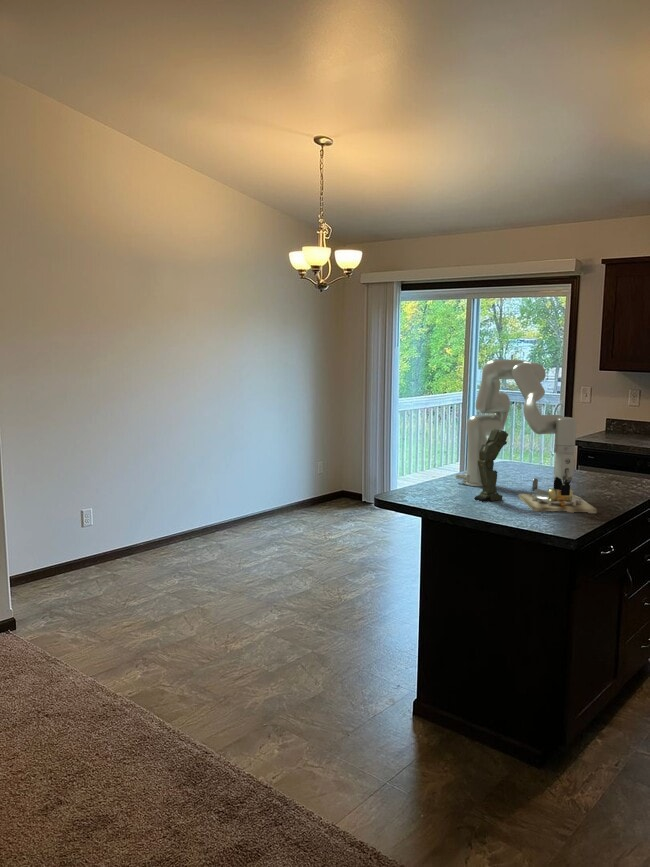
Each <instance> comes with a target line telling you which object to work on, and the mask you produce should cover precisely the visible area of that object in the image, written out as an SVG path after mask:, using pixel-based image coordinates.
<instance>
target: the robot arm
mask: <svg viewBox="0 0 650 867" xmlns="http://www.w3.org/2000/svg"><path fill="white" fill-rule="evenodd" d="M546 374H547V372H546V369H545V367H544V366H543V365H542V364H540V363H538V362H533V361H529V360H528V361H527V360H523V359H504V358H503V359H500V358H499V359H490V360H488V361H487V362H486V363H485V364H484V365H483V367H482V372H481V380H480V381H481V382H480V386H479V389H478V392H477V396H476V401H475V409H476V411H477V412H478V413H480V414H474V415H472V416H470V417H469V418H468V419H467V421H466V433H467V455H466V456H467V457H466V458H467V459H466V472H464V473H463V474H456V475H455V479H456V480H462V484H463V485H465V486H469V487H470V486H471V487H482V488H483V485H482V483H481V477H480V471H479V466H478V459H479V451H480V449H481V447H482V444H483V445H485V444H486V443H487V441H488V438H487V437H489V435H490V433H491V431H492V430H493V429H497V430H499V431H500V430H501V431H504V428H505V425H506V423H507V419H508V415H509V412H510V407H511V399H510V398H509V396H508V394H507V393H505V392H503V391H500V389H501V381H500V380H513V381H514V382H515V384H516V386H517V387H518V389H519V391H520V393H521V395H522V397H523V399H524V404H523V416H524V419H525V421H526V422H527V424H528V426H529V428H530V430H531V431H532V432H533V433H535V434H536V435H552V434H553V435H554V447H553V448H554V449H553V453H555V455H554V456H555V457H554V464H553V473H554V476H553V488H552V489H558V490H560V491H561V495H563V496H569V495H570V490H571V482H572V480H573V479H574V467H575V466H574V455H575V451H576V450H575V449H576V436H577V435H576V434H577V419H576V418H575V417H569V416H563V415H559V414H541V412H540V410H539V408H538V406H537V402H538V401H540V400H541V399H543V398H544V396H545V393H546V390H545V388H544V387H543V384H542V382H543V381H544V380H545V379H546Z"/></svg>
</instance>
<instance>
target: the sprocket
mask: <svg viewBox="0 0 650 867" xmlns="http://www.w3.org/2000/svg"><path fill="white" fill-rule="evenodd" d="M538 483H539V479H538V478H532V488H531V491H532V492H533V493H531V494H532V496H531V499H532V500H537V502H538V503H547V504H548V505H552V504H553V505H560V506H565V505H572V506H576V504H582V500H581V499H582V497H581V496H578V497H575V496H576V495H575V494H573V495H572V501H570V502H568V501H562V500H559V501H550V500H548V496H549V490H544V489H541V488H538ZM535 492H536V493H535Z"/></svg>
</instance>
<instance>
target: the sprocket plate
mask: <svg viewBox="0 0 650 867" xmlns="http://www.w3.org/2000/svg"><path fill="white" fill-rule="evenodd" d="M531 496H532V493H518V498H519V499H520V501H522V502H523V504H525V505H526V506H527V505H528V506H529V507H530V508H531V509H532V510H533V511H532V510H531V509H530V508H529V507H528V506H527V507H528V508H529V509H530V510H531V511H532V512H544V511H567V512H566V513H574V512H588V513H587V514H597V513H598V509H597V508H596V507H594V506H593V505H591V504H590V503H589V502H587V501H585V500H584V499H583V498H581V500H582V504H576V506H572V505H565V506H560V505H553V504H552V505H548V504H547V503H538V502H537V500H532V499H531ZM575 497H579V496H578V495H575Z"/></svg>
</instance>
